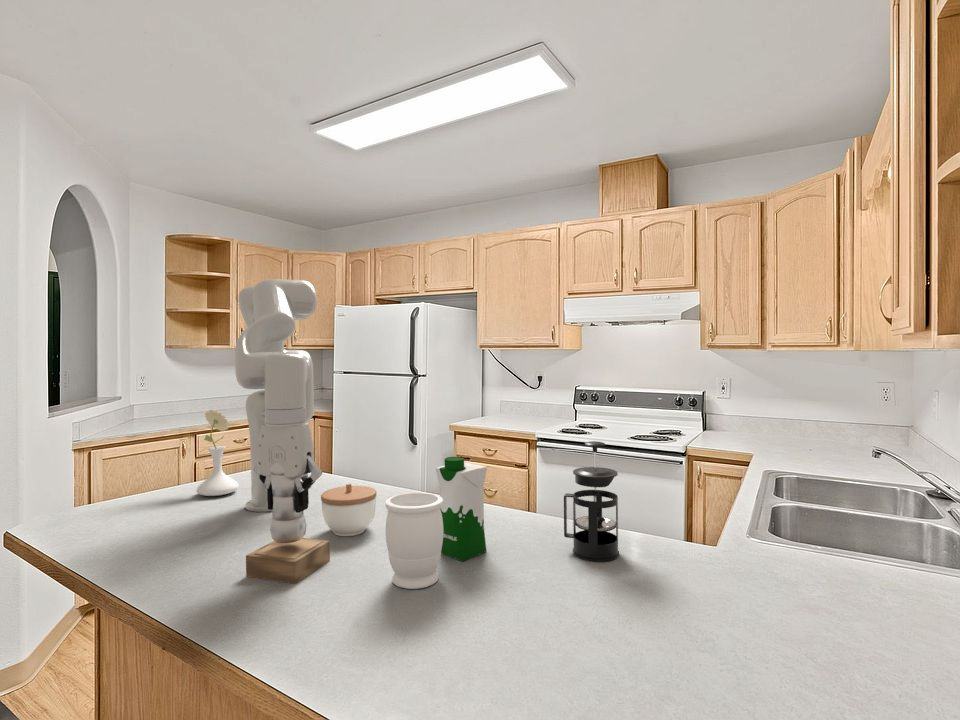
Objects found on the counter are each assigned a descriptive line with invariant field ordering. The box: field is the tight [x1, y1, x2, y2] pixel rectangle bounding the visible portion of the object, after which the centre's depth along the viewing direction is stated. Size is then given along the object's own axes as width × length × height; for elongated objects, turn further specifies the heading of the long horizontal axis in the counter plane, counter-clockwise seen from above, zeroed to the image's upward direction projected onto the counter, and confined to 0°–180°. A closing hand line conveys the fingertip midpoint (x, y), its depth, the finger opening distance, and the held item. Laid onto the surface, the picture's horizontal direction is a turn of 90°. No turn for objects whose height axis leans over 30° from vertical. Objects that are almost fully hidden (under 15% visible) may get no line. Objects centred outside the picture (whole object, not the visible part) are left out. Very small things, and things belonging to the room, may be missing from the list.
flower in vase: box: [196, 408, 240, 497], centre depth 160 cm, size 13×11×25 cm
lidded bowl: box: [320, 483, 377, 537], centre depth 126 cm, size 13×13×11 cm
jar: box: [385, 492, 444, 590], centre depth 99 cm, size 11×10×15 cm
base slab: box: [245, 537, 331, 584], centre depth 105 cm, size 11×11×4 cm
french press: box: [563, 440, 620, 563], centre depth 111 cm, size 12×9×23 cm
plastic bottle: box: [269, 463, 307, 543], centre depth 105 cm, size 6×7×20 cm
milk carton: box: [435, 456, 488, 562], centre depth 112 cm, size 9×9×20 cm
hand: (288, 508), depth 105 cm, fingers closed on plastic bottle, 5 cm apart
